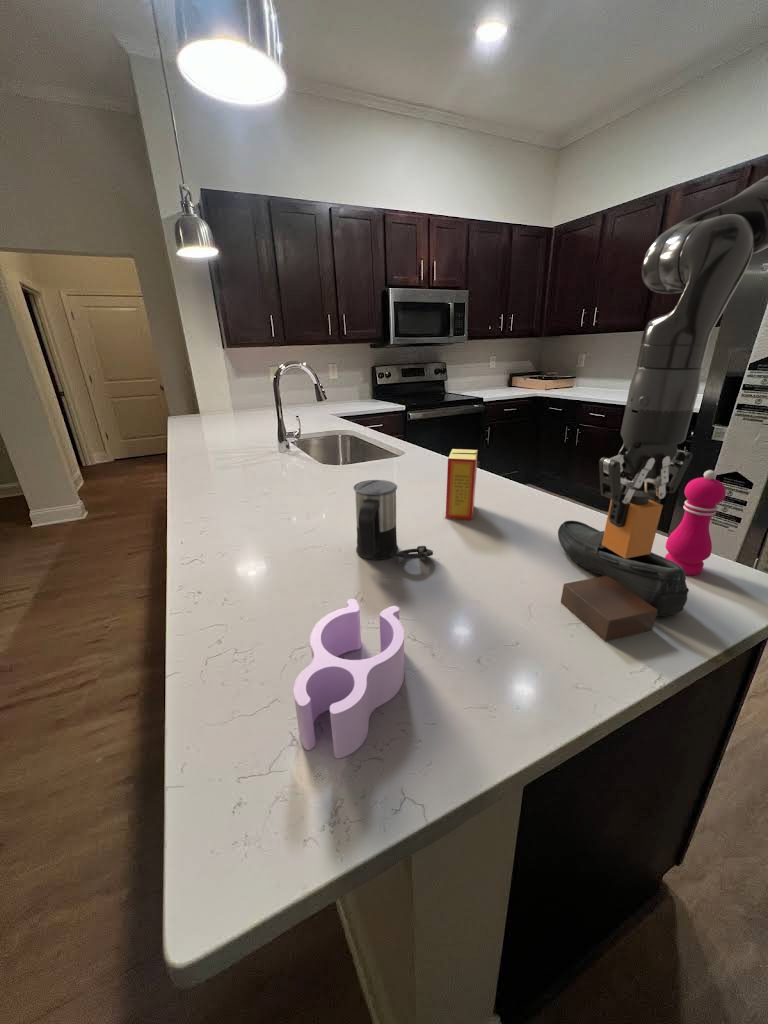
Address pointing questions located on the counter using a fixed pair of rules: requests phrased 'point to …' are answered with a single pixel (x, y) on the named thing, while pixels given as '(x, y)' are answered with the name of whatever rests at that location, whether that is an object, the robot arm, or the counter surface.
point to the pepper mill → (696, 524)
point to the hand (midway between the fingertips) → (631, 522)
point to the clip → (348, 677)
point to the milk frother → (379, 522)
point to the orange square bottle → (634, 528)
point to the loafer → (627, 568)
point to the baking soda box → (461, 483)
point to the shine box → (608, 607)
